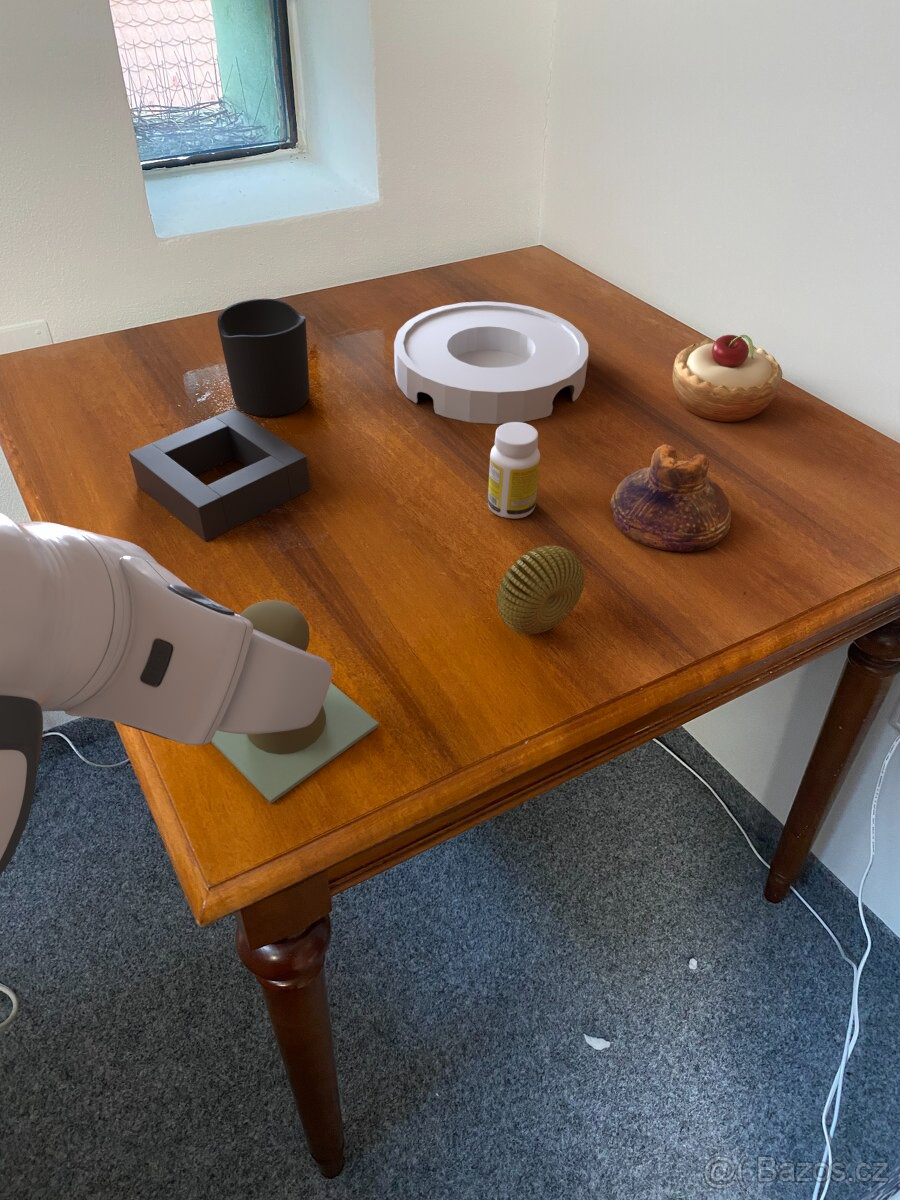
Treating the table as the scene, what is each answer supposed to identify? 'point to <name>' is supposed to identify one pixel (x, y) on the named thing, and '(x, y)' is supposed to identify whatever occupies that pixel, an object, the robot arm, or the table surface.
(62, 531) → the robot arm
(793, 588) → the table surface
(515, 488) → the supplement bottle
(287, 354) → the pen holder
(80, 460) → the table surface
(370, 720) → the mat
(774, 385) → the pastry
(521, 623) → the sculpture
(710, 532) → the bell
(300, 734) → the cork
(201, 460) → the holder stand
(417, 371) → the ashtray
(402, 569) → the table surface
